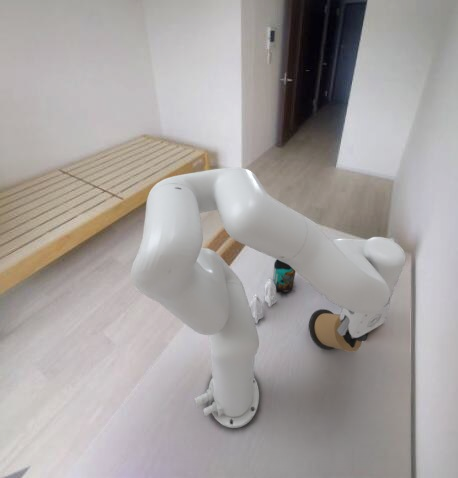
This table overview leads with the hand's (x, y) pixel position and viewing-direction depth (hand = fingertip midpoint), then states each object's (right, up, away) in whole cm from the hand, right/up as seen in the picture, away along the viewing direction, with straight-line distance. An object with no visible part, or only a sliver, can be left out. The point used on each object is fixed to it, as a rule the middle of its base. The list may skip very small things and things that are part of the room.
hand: (354, 338), depth 66 cm
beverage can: (-12, 0, +28) cm, 30 cm away
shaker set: (-20, -3, +21) cm, 29 cm away
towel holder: (0, -5, +2) cm, 6 cm away
